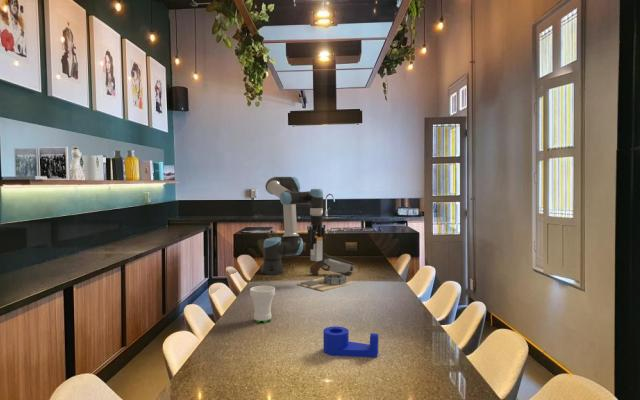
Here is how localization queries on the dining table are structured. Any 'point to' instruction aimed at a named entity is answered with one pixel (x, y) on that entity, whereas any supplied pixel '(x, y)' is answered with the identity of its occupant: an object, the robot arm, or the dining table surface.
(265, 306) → the cup
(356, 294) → the dining table surface
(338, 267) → the gun
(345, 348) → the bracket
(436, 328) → the dining table surface
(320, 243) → the block
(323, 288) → the board
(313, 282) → the pad
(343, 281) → the grey octagonal ring
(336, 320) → the dining table surface
